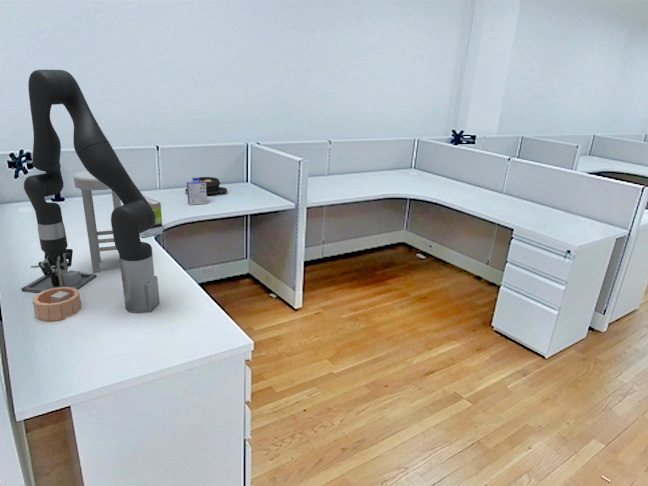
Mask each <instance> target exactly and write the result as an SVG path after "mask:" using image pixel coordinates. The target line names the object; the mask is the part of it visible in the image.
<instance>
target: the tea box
mask: <svg viewBox="0 0 648 486" xmlns="http://www.w3.org/2000/svg"><path fill="white" fill-rule="evenodd" d="M143 196H144V198H145V199H146V200H147V202H148V203H149V205H150V206H151V208H152V210H153V212H154V214H155V224H154V226H153V227H152V228H151V229H149V230H146V231H144V232H142V233H139V235H140V238H147V237H152V236H158V235H162V234H163V216H162V203H161V202H160V201H158V200H155V199H153V198H150V197H148V196H145V195H143Z"/></svg>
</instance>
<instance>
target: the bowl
mask: <svg viewBox="0 0 648 486" xmlns="http://www.w3.org/2000/svg"><path fill="white" fill-rule="evenodd" d="M79 290H80V289H79ZM79 290H77V289H75V288H72V287H57V288H51V289H48V290H45V291H42V292H40V293H36V295H34V296H33V298H32V306H33V310H34V315H35V316H36V318H37V319H38V320H40V321H44V322H56V321H61V320H65V319H67V318H68V317H71V316H73V315H75V314H76V313H78V312H80V310H81V308H82V300H81V295H80V291H79ZM59 291H62V292H67V293H70V298H69V299H68V300H65V301H62V302H57V303H51V298H50V296H51V295H53V294H55V293H57V292H59Z"/></svg>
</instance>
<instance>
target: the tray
mask: <svg viewBox="0 0 648 486" xmlns="http://www.w3.org/2000/svg"><path fill="white" fill-rule="evenodd" d="M53 271H54V269H53ZM80 274H81V281H82V282H80V283H79V284H77V285H76V286H74V287H73V288H75V289H77V290H80V289H82V288H83V287H85V286H86V285H87V284H89V283H90V282H92V281H93V280H95V279H96V278H97V277H98V275H97V274H98V273H88V272H80ZM57 287H61V286H52V282H51V277H50V276H45V275H42V276H40V277H39V278H37V279H35V280H33V281H32V282H29V283H28V284H26V285H25V286H23V287H21V288H20V289H21V292H24V293H25V292H26V293H33V294H38V293H40V292H42V291H45V290H48V289H51V288H57ZM62 287H65V285H64V286H62Z"/></svg>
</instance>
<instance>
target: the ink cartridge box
mask: <svg viewBox="0 0 648 486" xmlns="http://www.w3.org/2000/svg"><path fill="white" fill-rule="evenodd" d="M193 179H198V180H193ZM186 189H187V192H186V193H187V204H188V206H195V205H207V204H208V197H207V196H208V195H206V182H205V181H199V177H192V180H191V181H186Z"/></svg>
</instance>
